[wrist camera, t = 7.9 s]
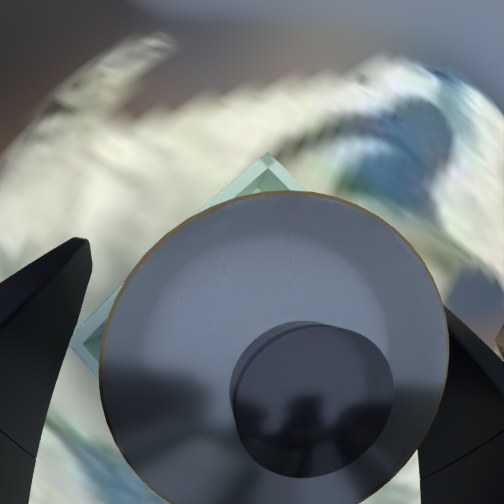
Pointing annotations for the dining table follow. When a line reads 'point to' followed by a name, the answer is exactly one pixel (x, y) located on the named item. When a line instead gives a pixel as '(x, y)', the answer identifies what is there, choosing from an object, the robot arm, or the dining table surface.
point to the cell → (274, 354)
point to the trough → (249, 182)
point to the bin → (501, 340)
